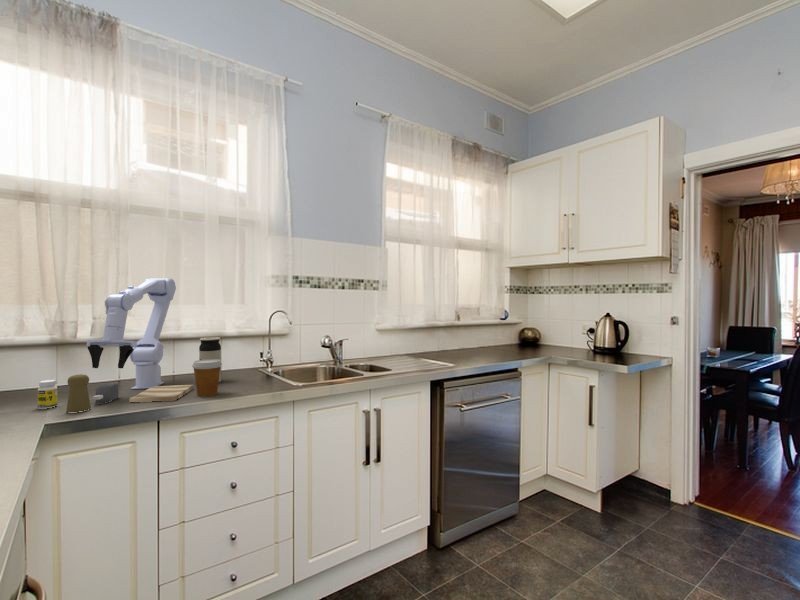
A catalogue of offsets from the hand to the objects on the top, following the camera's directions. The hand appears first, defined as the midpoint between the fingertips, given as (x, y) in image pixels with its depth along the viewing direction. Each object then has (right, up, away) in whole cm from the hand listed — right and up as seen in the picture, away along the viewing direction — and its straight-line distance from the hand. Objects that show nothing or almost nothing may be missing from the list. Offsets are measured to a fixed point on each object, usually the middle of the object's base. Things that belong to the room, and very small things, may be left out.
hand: (107, 368), depth 134 cm
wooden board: (+14, -11, +7) cm, 20 cm away
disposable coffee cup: (+30, -11, +8) cm, 33 cm away
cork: (-1, -11, -12) cm, 16 cm away
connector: (0, -11, -1) cm, 11 cm away
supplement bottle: (-13, -11, -8) cm, 19 cm away
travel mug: (+21, -11, +29) cm, 37 cm away
